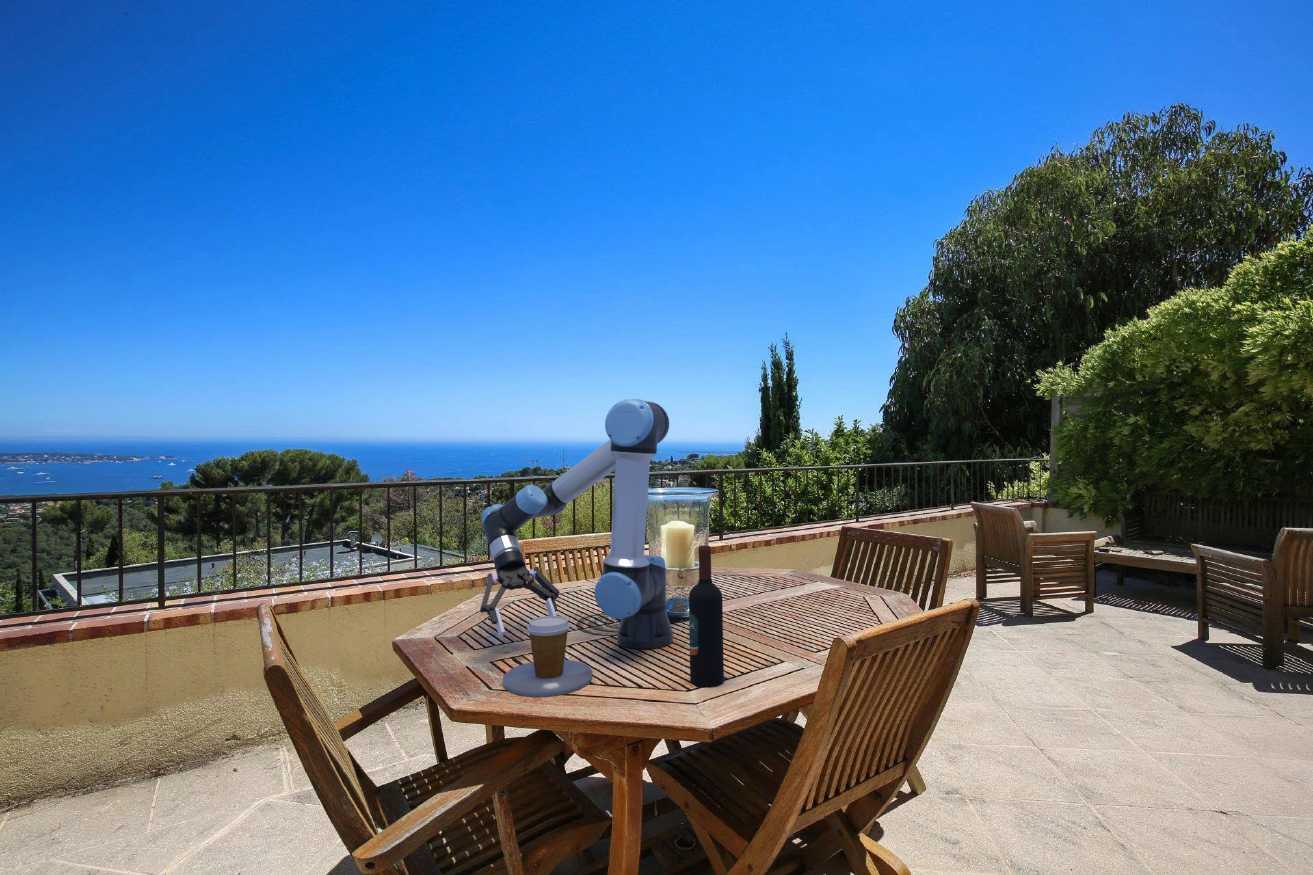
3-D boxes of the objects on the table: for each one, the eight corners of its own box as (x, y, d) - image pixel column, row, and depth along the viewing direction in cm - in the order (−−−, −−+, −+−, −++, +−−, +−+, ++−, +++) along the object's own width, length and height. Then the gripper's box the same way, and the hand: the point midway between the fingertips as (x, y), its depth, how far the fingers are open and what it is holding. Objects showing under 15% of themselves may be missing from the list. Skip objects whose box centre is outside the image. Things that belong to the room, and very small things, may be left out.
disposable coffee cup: (530, 667, 146) (529, 616, 147) (571, 665, 147) (570, 614, 147) (525, 682, 137) (524, 627, 137) (569, 680, 138) (568, 625, 138)
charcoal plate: (600, 665, 150) (600, 660, 150) (580, 698, 131) (580, 692, 131) (520, 663, 153) (520, 658, 153) (488, 695, 133) (488, 689, 133)
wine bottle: (714, 689, 134) (712, 550, 135) (684, 683, 138) (681, 547, 139) (729, 678, 140) (727, 545, 141) (700, 672, 145) (697, 543, 145)
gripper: (548, 558, 173) (572, 626, 161) (457, 572, 160) (475, 647, 148) (555, 542, 169) (580, 611, 156) (461, 555, 155) (481, 631, 143)
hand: (529, 629), depth 152 cm, fingers open, 13 cm apart
